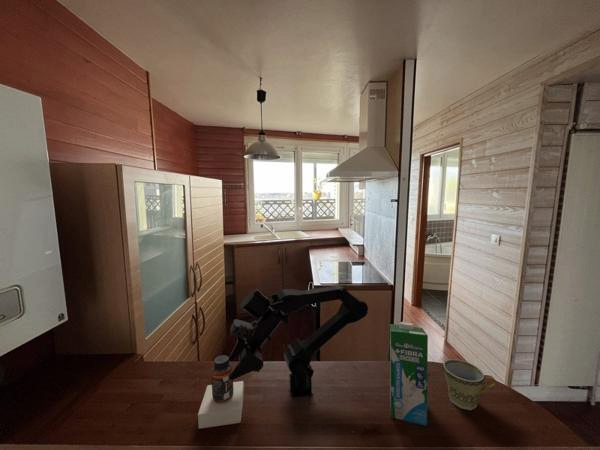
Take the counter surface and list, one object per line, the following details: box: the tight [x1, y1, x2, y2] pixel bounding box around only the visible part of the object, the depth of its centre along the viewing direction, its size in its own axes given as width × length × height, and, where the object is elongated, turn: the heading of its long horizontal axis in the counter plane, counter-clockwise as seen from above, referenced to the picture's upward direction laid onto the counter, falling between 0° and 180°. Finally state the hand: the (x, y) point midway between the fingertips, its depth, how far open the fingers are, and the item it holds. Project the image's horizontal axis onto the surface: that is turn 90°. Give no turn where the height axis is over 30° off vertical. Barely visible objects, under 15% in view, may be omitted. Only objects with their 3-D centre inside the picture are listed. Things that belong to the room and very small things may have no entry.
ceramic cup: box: [442, 358, 497, 411], centre depth 71 cm, size 13×10×10 cm
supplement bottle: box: [210, 354, 234, 403], centre depth 70 cm, size 6×6×11 cm
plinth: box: [197, 380, 245, 429], centre depth 71 cm, size 11×11×4 cm
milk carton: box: [389, 321, 429, 427], centre depth 69 cm, size 9×9×25 cm
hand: (230, 368), depth 71 cm, fingers open, 9 cm apart
